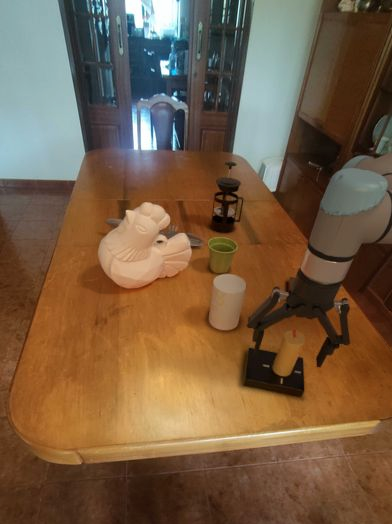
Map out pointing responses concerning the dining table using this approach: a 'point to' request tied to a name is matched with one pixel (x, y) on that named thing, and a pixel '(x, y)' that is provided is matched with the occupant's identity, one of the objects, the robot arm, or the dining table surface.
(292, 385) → the dimmer
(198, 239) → the spaceship
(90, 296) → the dining table surface
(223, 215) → the french press
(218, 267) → the plant pot
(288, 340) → the dimmer knob
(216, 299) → the cup
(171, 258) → the decorative rooster
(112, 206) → the dining table surface
